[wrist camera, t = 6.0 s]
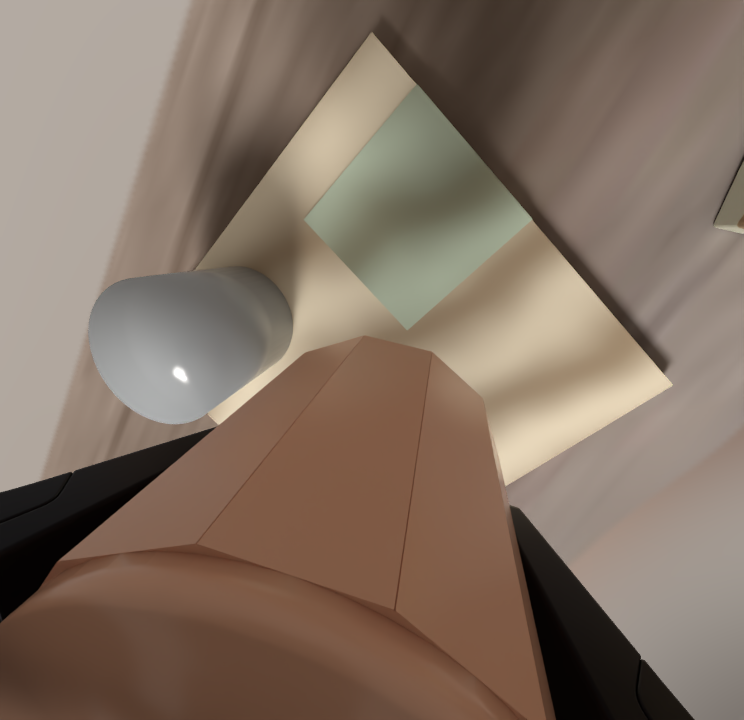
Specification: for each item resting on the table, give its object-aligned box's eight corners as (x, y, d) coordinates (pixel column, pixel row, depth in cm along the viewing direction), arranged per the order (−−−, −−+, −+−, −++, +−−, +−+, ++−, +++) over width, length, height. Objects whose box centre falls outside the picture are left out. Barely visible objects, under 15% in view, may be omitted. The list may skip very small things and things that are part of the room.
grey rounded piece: (314, 324, 21) (254, 363, 14) (250, 390, 23) (172, 449, 17) (234, 241, 20) (133, 242, 14) (176, 317, 22) (65, 348, 16)
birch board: (662, 378, 19) (675, 386, 18) (370, 557, 27) (367, 571, 26) (375, 43, 17) (370, 29, 16) (149, 342, 25) (135, 347, 24)
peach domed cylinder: (456, 565, 11) (466, 1056, 4) (259, 504, 12) (23, 845, 5) (529, 375, 9) (780, 827, 2) (277, 313, 9) (-116, 503, 3)
